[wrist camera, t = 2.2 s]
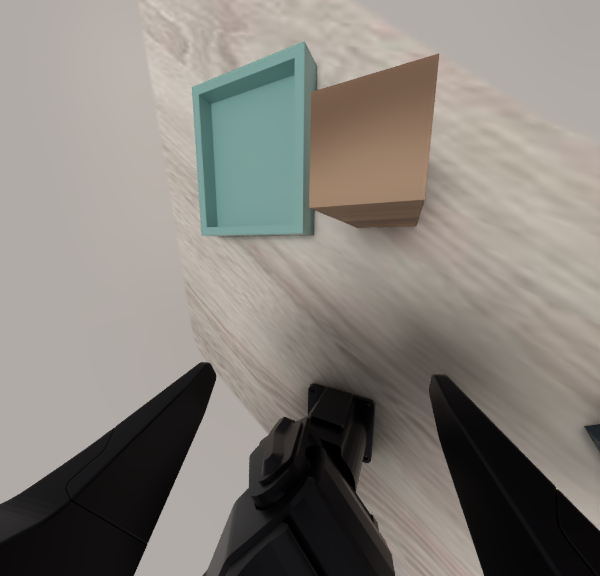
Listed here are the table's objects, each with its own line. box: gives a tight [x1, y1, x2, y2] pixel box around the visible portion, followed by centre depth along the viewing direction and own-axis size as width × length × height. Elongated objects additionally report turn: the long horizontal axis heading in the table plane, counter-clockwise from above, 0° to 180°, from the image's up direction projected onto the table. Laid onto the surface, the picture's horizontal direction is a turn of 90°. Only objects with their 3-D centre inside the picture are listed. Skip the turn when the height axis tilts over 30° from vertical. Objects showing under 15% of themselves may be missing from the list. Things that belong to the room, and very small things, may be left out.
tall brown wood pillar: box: [309, 54, 439, 228], centre depth 13 cm, size 4×4×10 cm
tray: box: [192, 41, 317, 237], centre depth 21 cm, size 14×12×2 cm
